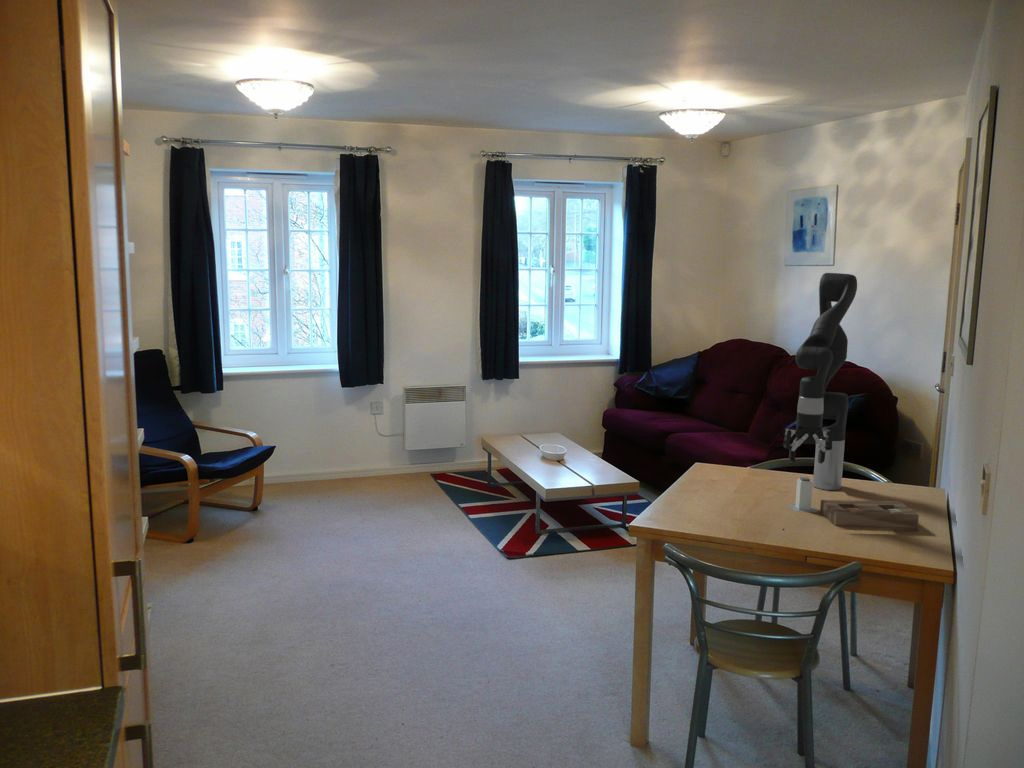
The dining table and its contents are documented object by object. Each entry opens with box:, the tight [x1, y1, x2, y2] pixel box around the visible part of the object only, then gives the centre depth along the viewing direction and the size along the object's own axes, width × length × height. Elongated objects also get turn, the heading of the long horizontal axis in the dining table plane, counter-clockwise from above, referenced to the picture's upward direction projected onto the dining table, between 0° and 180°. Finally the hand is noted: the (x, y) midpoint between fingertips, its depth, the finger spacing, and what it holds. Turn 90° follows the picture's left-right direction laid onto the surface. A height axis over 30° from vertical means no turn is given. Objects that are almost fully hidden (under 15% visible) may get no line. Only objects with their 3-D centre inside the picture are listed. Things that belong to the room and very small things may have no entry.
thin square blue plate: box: [788, 504, 819, 513], centre depth 266 cm, size 7×7×1 cm
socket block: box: [819, 499, 920, 532], centre depth 255 cm, size 13×24×5 cm, turn 89°
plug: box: [794, 476, 813, 510], centre depth 265 cm, size 4×4×10 cm
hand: (806, 462), depth 264 cm, fingers open, 8 cm apart
